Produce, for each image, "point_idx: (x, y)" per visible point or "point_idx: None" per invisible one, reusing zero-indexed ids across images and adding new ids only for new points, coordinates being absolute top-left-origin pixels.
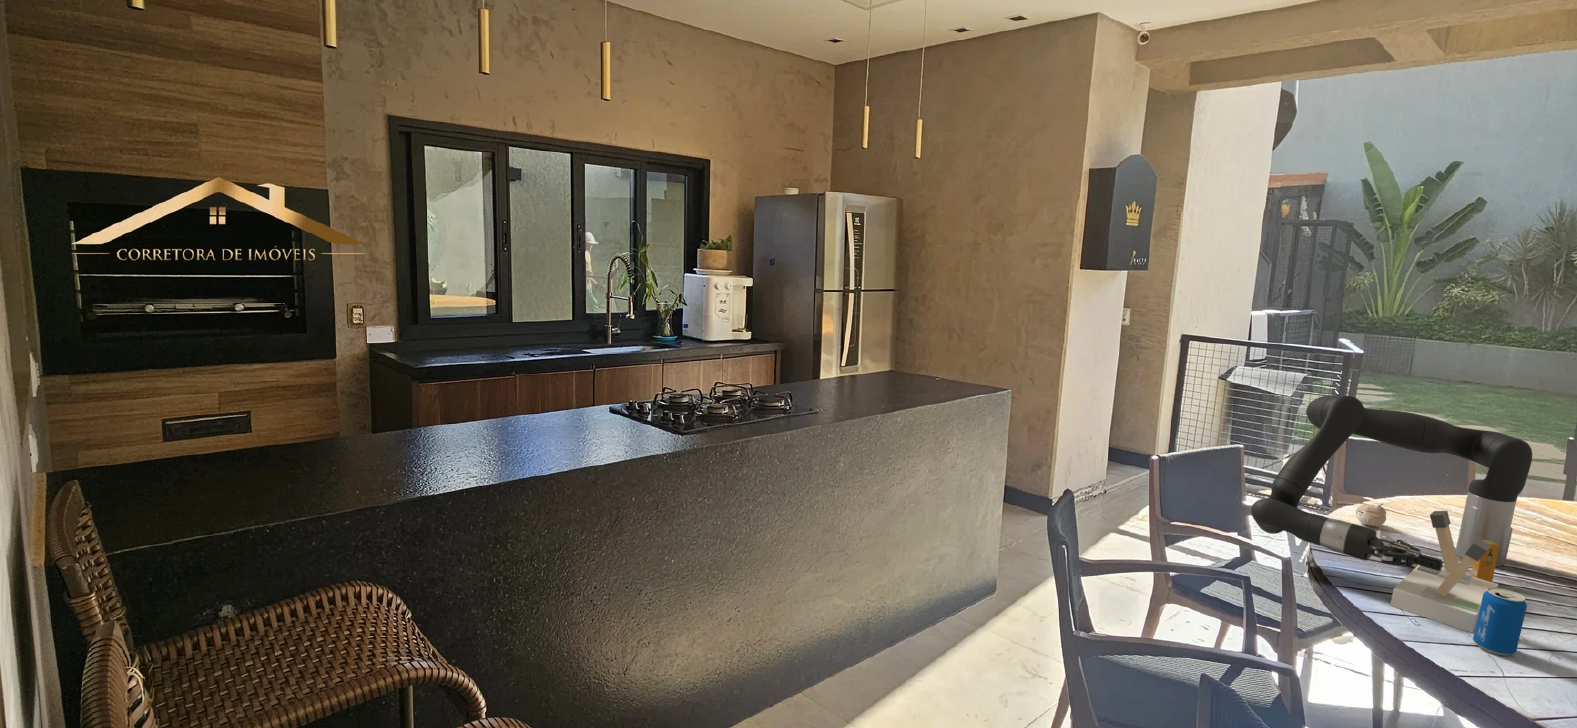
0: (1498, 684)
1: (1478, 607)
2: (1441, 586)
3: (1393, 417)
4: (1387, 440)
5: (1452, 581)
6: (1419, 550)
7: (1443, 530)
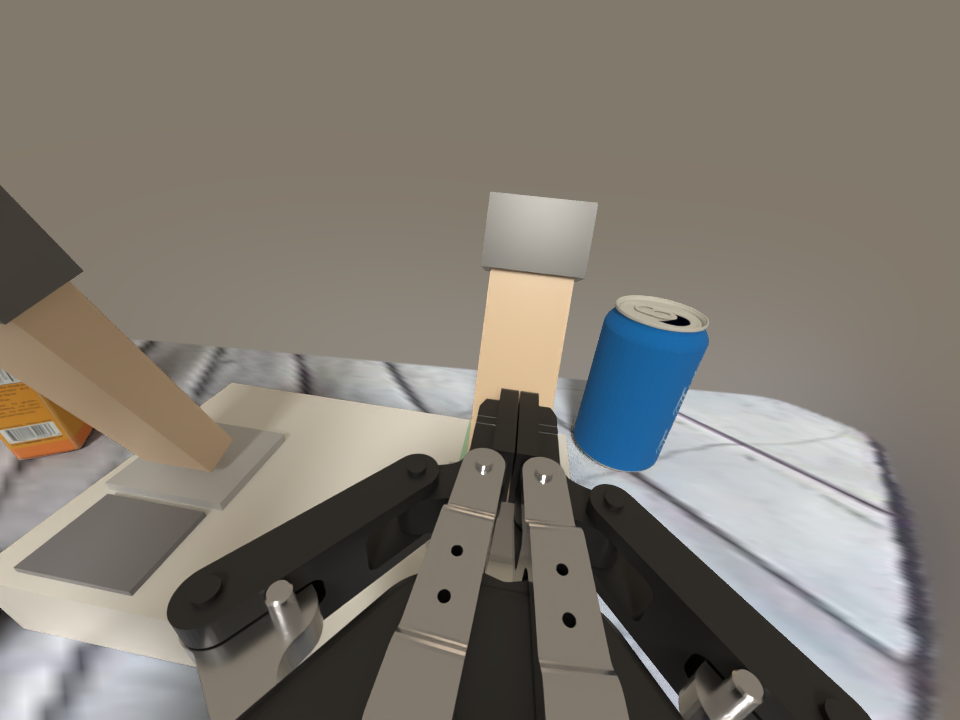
0: (797, 453)
1: None
2: None
3: None
4: None
5: None
6: (426, 458)
7: (73, 302)
